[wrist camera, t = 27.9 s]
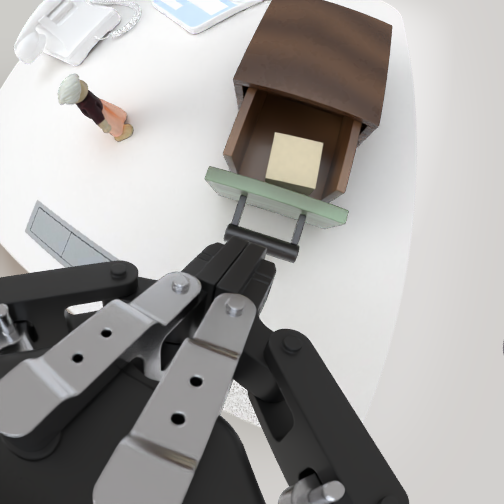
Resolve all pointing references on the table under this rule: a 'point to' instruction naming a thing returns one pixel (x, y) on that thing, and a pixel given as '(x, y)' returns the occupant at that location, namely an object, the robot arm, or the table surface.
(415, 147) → the table surface
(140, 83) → the table surface
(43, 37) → the telephone
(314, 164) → the block
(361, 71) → the cabinet
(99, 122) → the grandmother figurine
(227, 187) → the drawer
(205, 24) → the calculator
